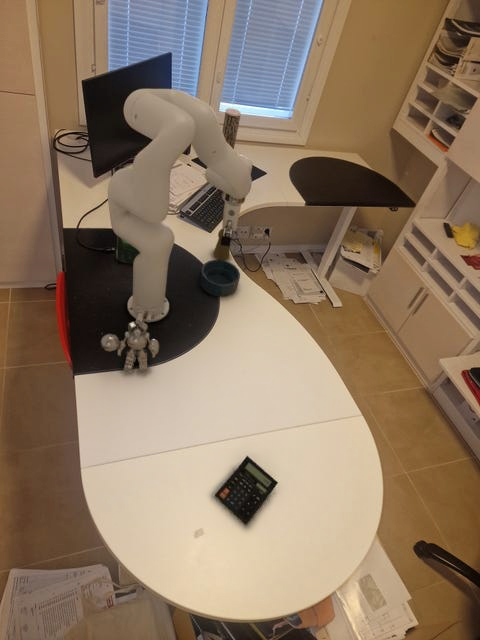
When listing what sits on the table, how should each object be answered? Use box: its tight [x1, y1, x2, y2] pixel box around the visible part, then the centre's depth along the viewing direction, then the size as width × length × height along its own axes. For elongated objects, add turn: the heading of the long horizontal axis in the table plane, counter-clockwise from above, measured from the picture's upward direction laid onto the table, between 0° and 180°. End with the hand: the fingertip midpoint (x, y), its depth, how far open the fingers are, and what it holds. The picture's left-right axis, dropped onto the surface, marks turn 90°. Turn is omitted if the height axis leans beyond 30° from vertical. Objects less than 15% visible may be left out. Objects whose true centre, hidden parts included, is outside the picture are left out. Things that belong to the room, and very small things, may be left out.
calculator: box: [214, 455, 279, 526], centre depth 95 cm, size 9×12×3 cm
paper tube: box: [222, 107, 242, 150], centre depth 191 cm, size 7×7×25 cm
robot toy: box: [100, 321, 160, 373], centre depth 107 cm, size 15×6×15 cm, turn 96°
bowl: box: [199, 259, 241, 297], centre depth 139 cm, size 13×13×6 cm
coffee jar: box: [115, 236, 140, 265], centre depth 135 cm, size 10×8×19 cm
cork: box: [212, 228, 234, 261], centre depth 148 cm, size 6×6×11 cm
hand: (225, 236), depth 147 cm, fingers open, 9 cm apart
